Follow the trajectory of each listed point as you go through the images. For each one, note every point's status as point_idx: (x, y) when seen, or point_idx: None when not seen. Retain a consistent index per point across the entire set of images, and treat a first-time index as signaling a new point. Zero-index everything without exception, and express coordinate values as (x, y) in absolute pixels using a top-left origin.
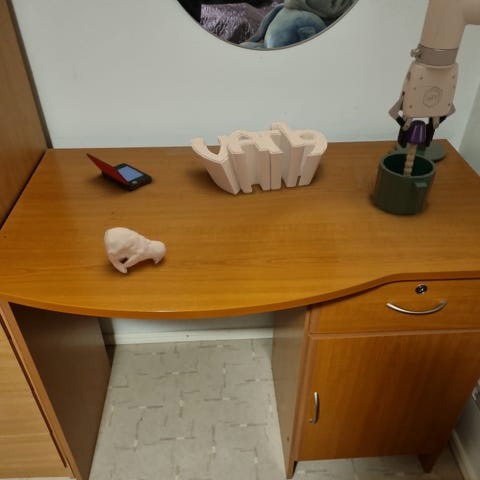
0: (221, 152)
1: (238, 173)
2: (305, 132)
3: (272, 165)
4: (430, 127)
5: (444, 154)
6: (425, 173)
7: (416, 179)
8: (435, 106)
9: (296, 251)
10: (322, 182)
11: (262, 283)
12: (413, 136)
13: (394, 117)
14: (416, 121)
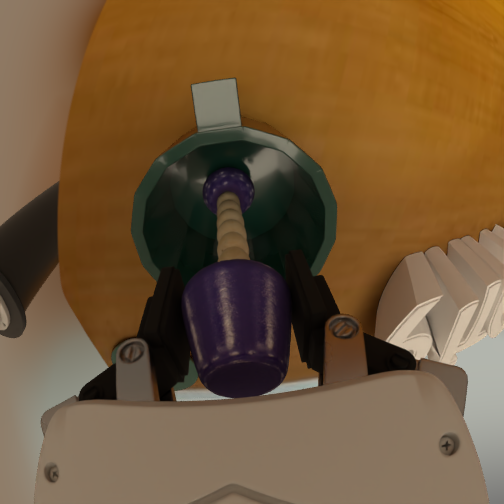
0: None
1: None
2: None
3: (486, 265)
4: (164, 350)
5: (113, 353)
6: (161, 237)
7: (227, 127)
8: (167, 494)
9: (470, 43)
10: (378, 265)
11: (496, 5)
12: (268, 293)
13: (434, 367)
14: (255, 386)
